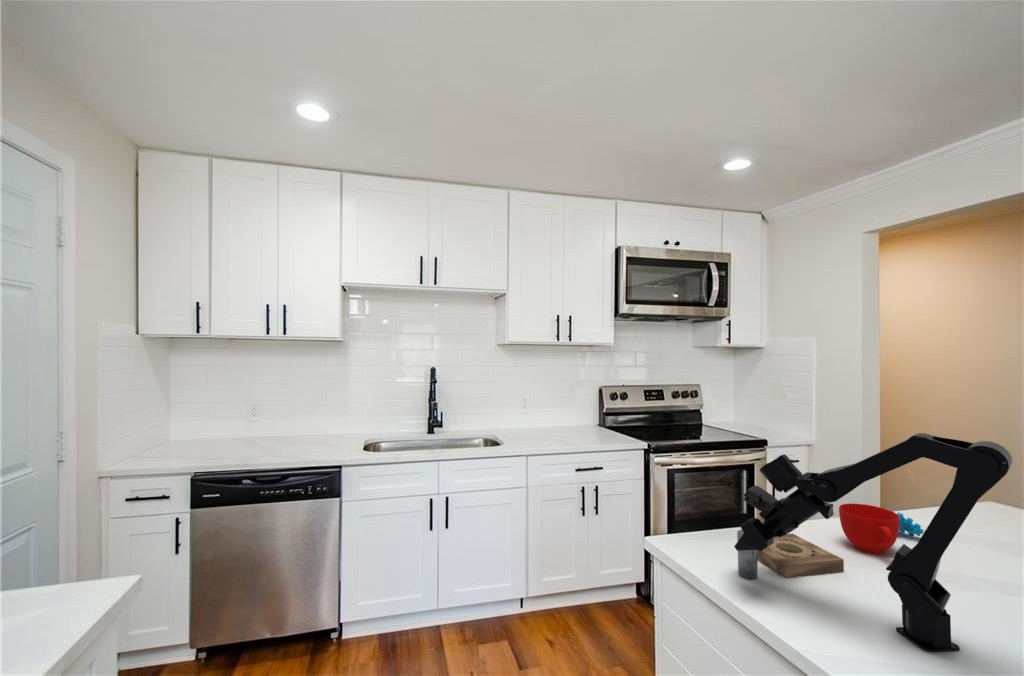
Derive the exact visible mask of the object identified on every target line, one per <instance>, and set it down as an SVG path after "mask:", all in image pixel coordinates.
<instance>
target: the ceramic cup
mask: <svg viewBox="0 0 1024 676" xmlns="http://www.w3.org/2000/svg"><path fill="white" fill-rule="evenodd" d="M838 506H839V507H838V515H839V521H840V525H841V528H842V531H843V534H844V535H845V537H846V539H848V540H849V542H850V543H851V544H852V545H853V547H854V548H855V549H856V550H859V551H861V552H864V553H869V554H874V555H879V554H880V555H881V554H884V553H885V552H887V551H889V550H890V549H891V548H892V547H893V546H894V545H895V543H896V542H897V539H898V536H899V532H900V531H899V516H898V514H897V513H896V512H895V511H893V510H892V511H893V512H892V511H890V510H891V509H887V508H883V507H879V506H875V505H872V504H871V505H870V504H863V503H842V504H840V505H838ZM898 531H899V532H898Z"/></svg>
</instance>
